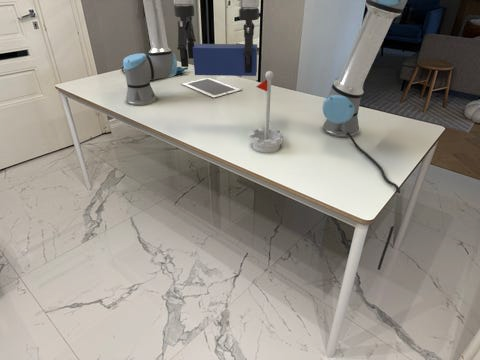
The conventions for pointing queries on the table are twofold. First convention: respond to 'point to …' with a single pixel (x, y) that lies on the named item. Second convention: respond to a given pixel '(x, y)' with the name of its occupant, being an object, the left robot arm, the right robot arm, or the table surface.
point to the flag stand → (266, 124)
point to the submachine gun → (180, 70)
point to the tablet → (211, 87)
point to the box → (223, 59)
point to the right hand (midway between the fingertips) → (248, 69)
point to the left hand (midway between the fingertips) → (188, 62)
